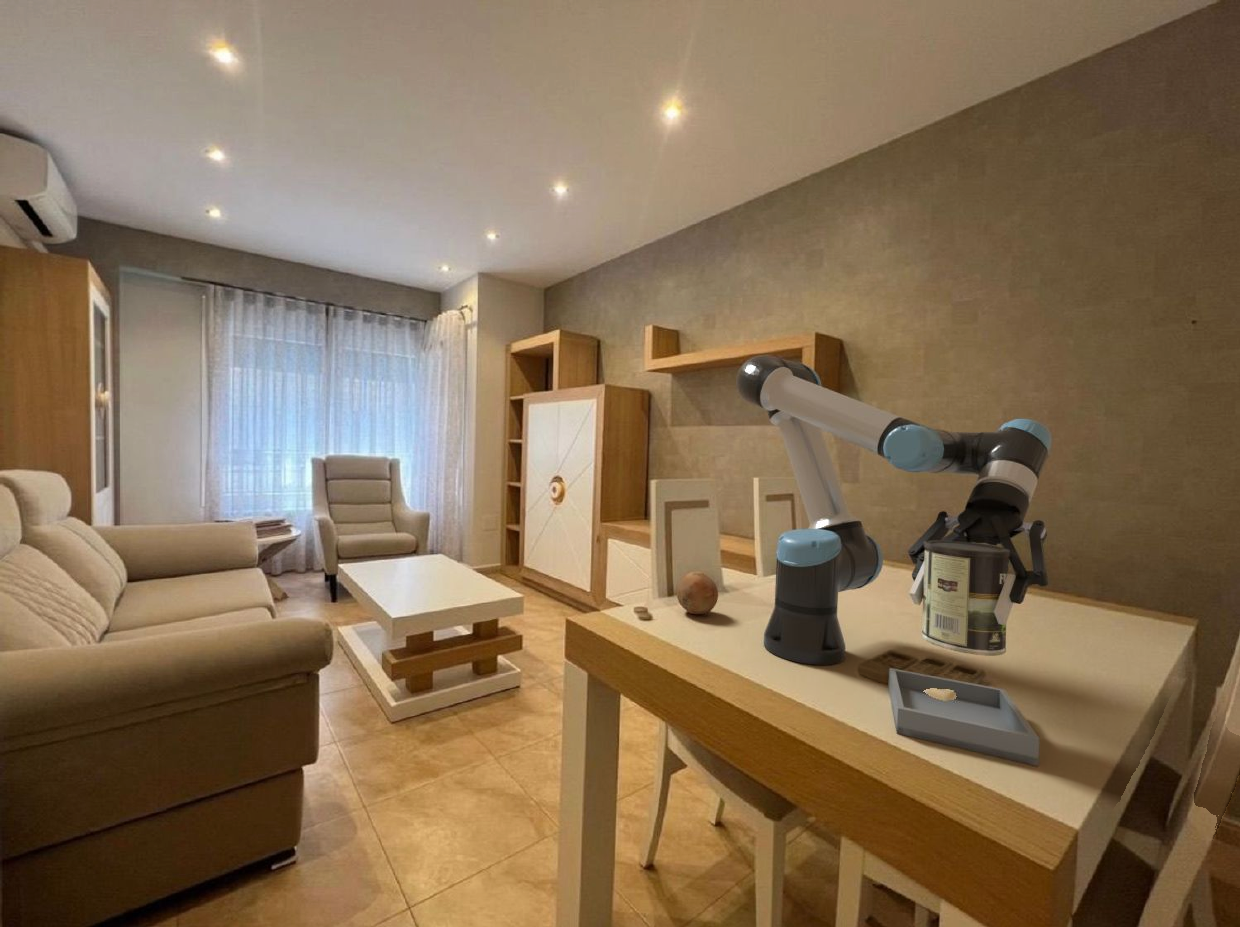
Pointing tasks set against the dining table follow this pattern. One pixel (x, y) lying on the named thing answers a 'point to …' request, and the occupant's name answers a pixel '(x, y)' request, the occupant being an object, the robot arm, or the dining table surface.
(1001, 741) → the tray
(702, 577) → the onion
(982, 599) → the coffee can
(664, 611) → the dining table surface
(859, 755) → the dining table surface
